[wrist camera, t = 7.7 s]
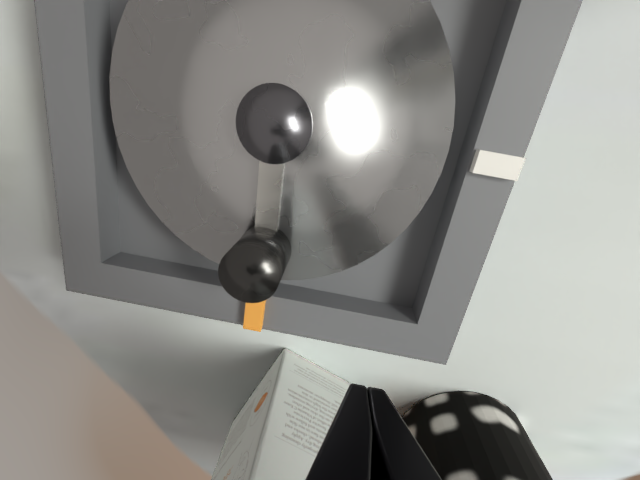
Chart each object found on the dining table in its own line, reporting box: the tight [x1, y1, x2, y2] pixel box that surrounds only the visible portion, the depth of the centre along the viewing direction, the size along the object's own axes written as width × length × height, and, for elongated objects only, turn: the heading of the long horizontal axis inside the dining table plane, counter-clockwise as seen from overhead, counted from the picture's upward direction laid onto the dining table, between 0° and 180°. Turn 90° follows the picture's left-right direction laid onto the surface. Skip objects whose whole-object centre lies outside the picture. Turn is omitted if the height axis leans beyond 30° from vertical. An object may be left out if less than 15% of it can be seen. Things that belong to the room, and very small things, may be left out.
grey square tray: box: [34, 0, 582, 365], centre depth 15 cm, size 20×20×3 cm
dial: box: [110, 0, 455, 303], centre depth 13 cm, size 14×14×4 cm
